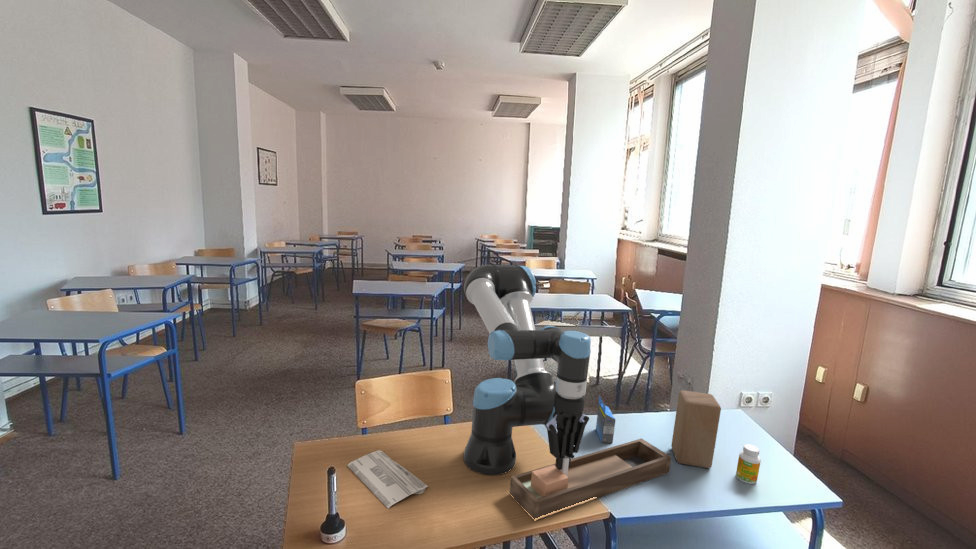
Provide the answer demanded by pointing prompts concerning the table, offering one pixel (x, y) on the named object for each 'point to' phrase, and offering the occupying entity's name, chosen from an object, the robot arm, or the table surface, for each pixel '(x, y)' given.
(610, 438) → the blue retail box
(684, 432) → the block
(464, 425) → the table surface
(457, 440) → the table surface
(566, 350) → the robot arm
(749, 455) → the supplement bottle
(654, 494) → the table surface
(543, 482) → the clay block
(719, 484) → the table surface
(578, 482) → the channel
